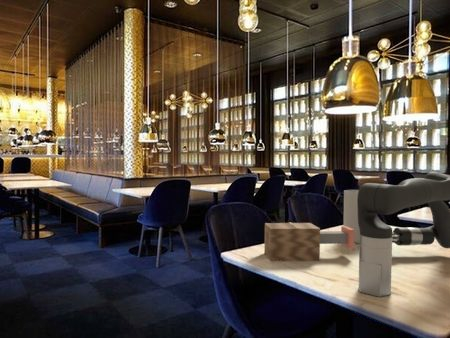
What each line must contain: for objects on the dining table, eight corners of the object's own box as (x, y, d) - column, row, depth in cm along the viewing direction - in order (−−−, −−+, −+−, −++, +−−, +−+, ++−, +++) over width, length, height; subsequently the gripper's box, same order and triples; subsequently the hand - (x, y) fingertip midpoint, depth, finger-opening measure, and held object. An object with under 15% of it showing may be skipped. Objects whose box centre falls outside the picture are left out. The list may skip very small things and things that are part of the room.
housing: (309, 252, 150) (310, 222, 150) (319, 260, 138) (320, 227, 138) (264, 253, 149) (264, 222, 148) (270, 261, 137) (270, 228, 136)
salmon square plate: (345, 244, 149) (345, 225, 149) (353, 249, 141) (354, 229, 141) (300, 244, 148) (300, 226, 147) (305, 249, 140) (306, 230, 139)
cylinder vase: (348, 237, 181) (349, 189, 181) (373, 240, 173) (374, 191, 173) (339, 241, 172) (340, 191, 171) (365, 245, 164) (366, 192, 163)
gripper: (398, 224, 153) (360, 224, 152) (417, 230, 140) (376, 231, 139) (398, 241, 154) (360, 241, 152) (417, 249, 140) (375, 249, 139)
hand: (368, 236), depth 146 cm, fingers closed
